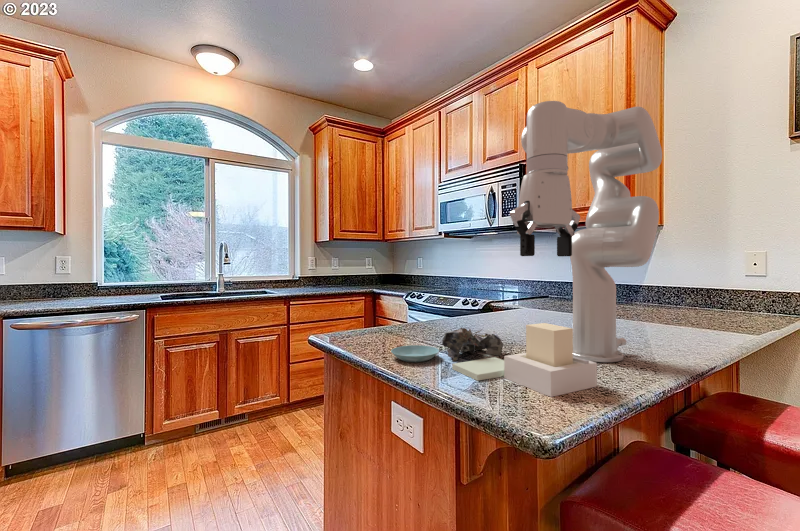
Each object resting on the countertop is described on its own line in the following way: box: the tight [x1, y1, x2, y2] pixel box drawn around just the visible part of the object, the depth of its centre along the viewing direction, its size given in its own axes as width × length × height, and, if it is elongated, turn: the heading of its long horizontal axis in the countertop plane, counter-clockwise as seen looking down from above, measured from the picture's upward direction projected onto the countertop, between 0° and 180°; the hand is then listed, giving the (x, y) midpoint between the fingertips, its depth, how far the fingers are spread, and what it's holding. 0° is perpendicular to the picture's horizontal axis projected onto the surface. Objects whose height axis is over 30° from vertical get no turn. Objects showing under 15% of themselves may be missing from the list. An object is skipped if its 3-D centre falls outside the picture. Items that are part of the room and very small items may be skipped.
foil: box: [441, 327, 504, 362], centre depth 95 cm, size 12×11×15 cm
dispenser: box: [503, 352, 598, 398], centre depth 75 cm, size 12×12×5 cm
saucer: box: [390, 344, 440, 363], centre depth 93 cm, size 12×12×2 cm
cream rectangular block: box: [525, 322, 573, 367], centre depth 75 cm, size 5×7×11 cm
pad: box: [451, 356, 504, 382], centre depth 82 cm, size 12×9×1 cm
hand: (546, 256), depth 74 cm, fingers open, 9 cm apart
